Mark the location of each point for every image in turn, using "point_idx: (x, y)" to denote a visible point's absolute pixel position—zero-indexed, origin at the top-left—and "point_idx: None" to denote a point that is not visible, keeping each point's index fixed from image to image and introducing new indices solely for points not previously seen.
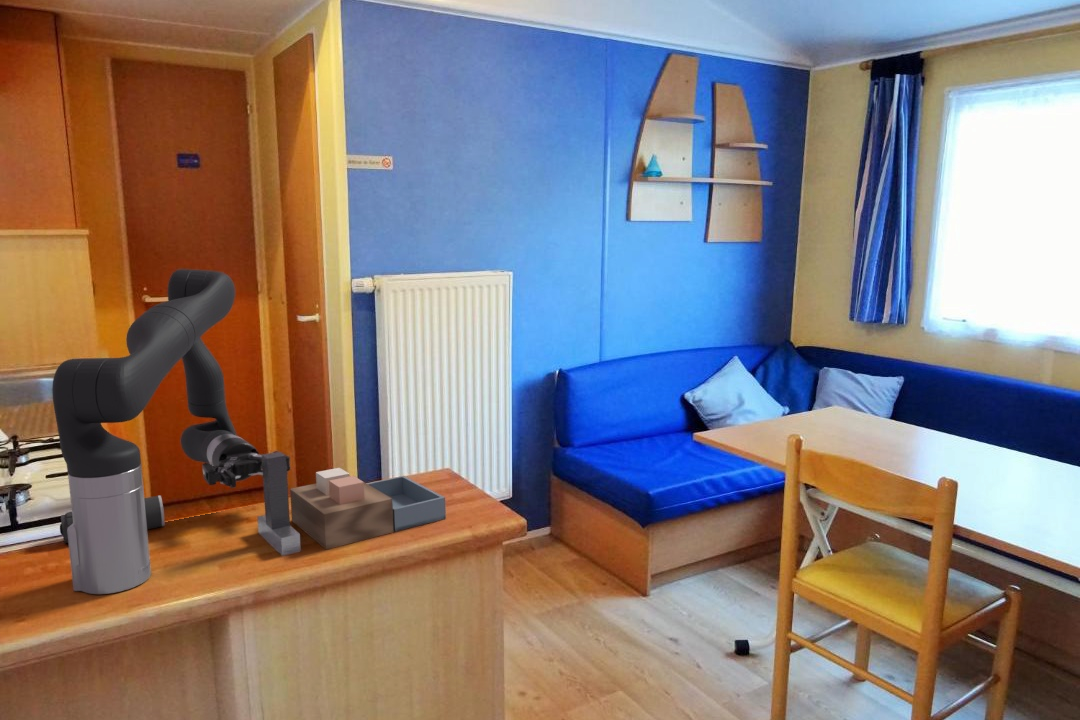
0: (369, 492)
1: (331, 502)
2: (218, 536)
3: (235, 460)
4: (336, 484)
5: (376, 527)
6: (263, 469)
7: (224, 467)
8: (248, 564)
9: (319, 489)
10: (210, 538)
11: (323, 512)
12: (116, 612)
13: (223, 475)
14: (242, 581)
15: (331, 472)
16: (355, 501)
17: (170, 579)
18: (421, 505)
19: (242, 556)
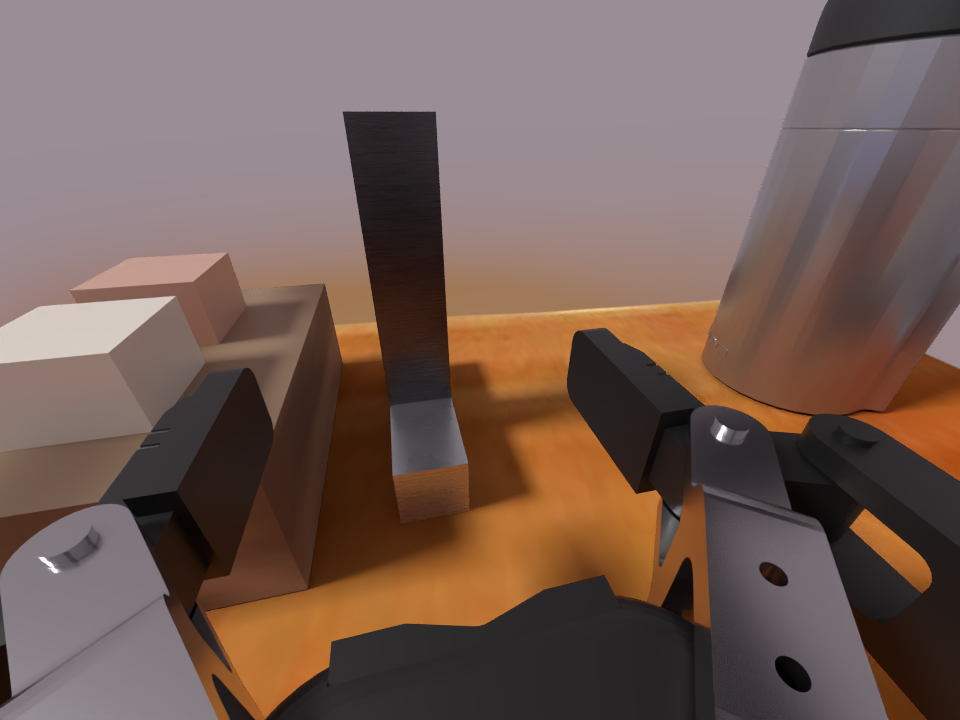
0: None
1: (252, 318)
2: (621, 538)
3: (710, 651)
4: (211, 262)
5: None
6: (437, 186)
7: (762, 491)
8: (508, 359)
9: (172, 401)
10: (648, 530)
11: (319, 288)
12: (690, 309)
13: (675, 383)
14: (518, 323)
15: (64, 331)
16: None
17: (654, 354)
18: None
19: (521, 388)
